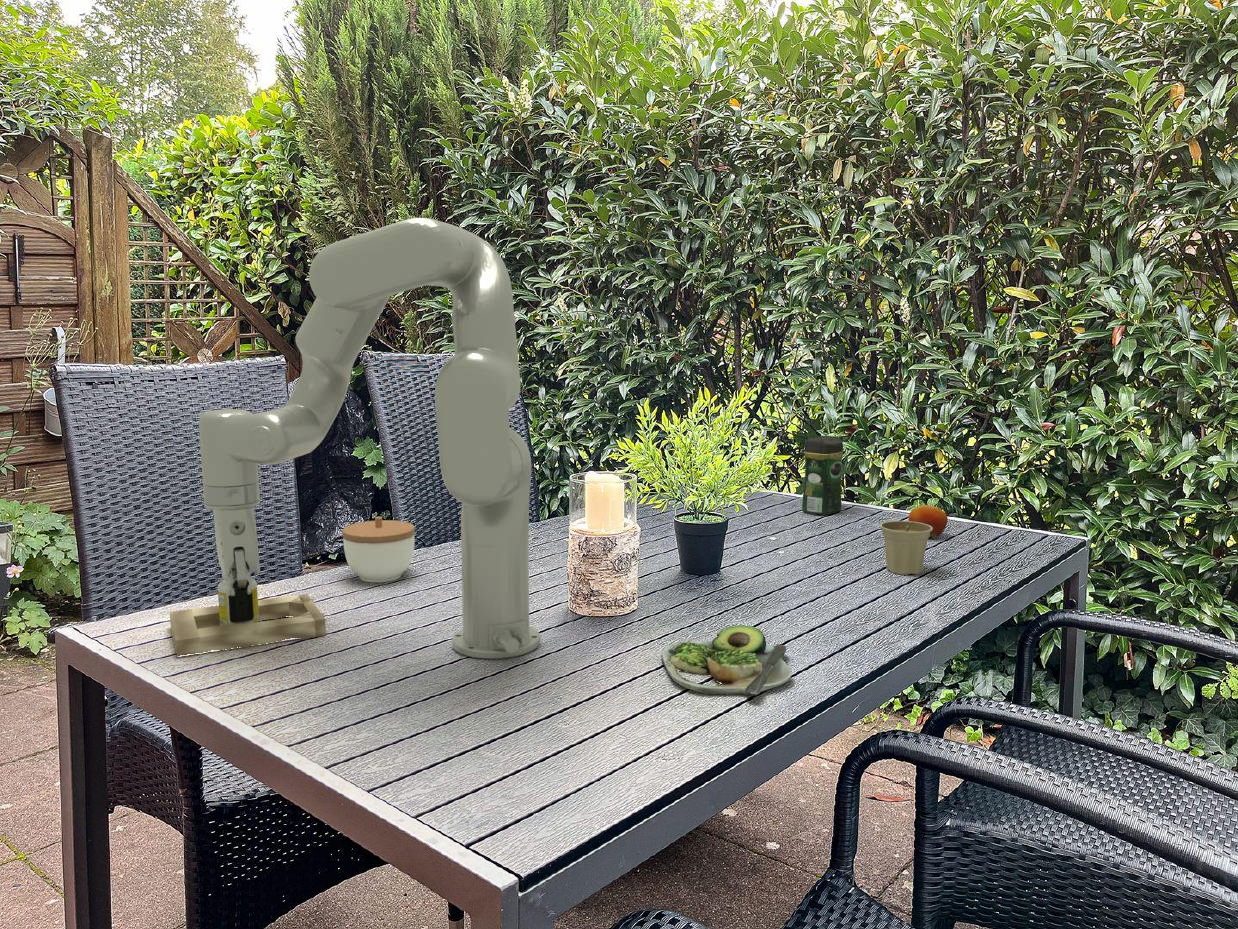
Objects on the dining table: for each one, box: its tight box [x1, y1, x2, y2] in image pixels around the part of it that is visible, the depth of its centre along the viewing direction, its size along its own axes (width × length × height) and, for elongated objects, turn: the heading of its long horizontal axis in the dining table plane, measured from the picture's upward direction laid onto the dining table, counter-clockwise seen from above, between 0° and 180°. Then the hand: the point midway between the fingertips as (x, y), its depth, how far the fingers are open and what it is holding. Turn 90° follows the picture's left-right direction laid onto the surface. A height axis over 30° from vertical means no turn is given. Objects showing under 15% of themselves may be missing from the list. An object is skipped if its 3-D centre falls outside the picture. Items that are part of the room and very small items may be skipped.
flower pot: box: [879, 520, 933, 576], centre depth 175 cm, size 9×9×9 cm
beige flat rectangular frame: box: [169, 593, 327, 657], centre depth 140 cm, size 20×14×2 cm
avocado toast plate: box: [660, 624, 793, 696], centre depth 125 cm, size 19×18×5 cm
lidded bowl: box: [341, 516, 416, 584], centre depth 168 cm, size 13×13×11 cm
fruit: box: [908, 504, 949, 541], centre depth 203 cm, size 8×8×8 cm
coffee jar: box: [801, 435, 844, 516], centre depth 226 cm, size 10×8×19 cm
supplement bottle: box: [217, 567, 259, 626], centre depth 139 cm, size 5×5×10 cm
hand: (239, 613), depth 139 cm, fingers closed on supplement bottle, 5 cm apart
